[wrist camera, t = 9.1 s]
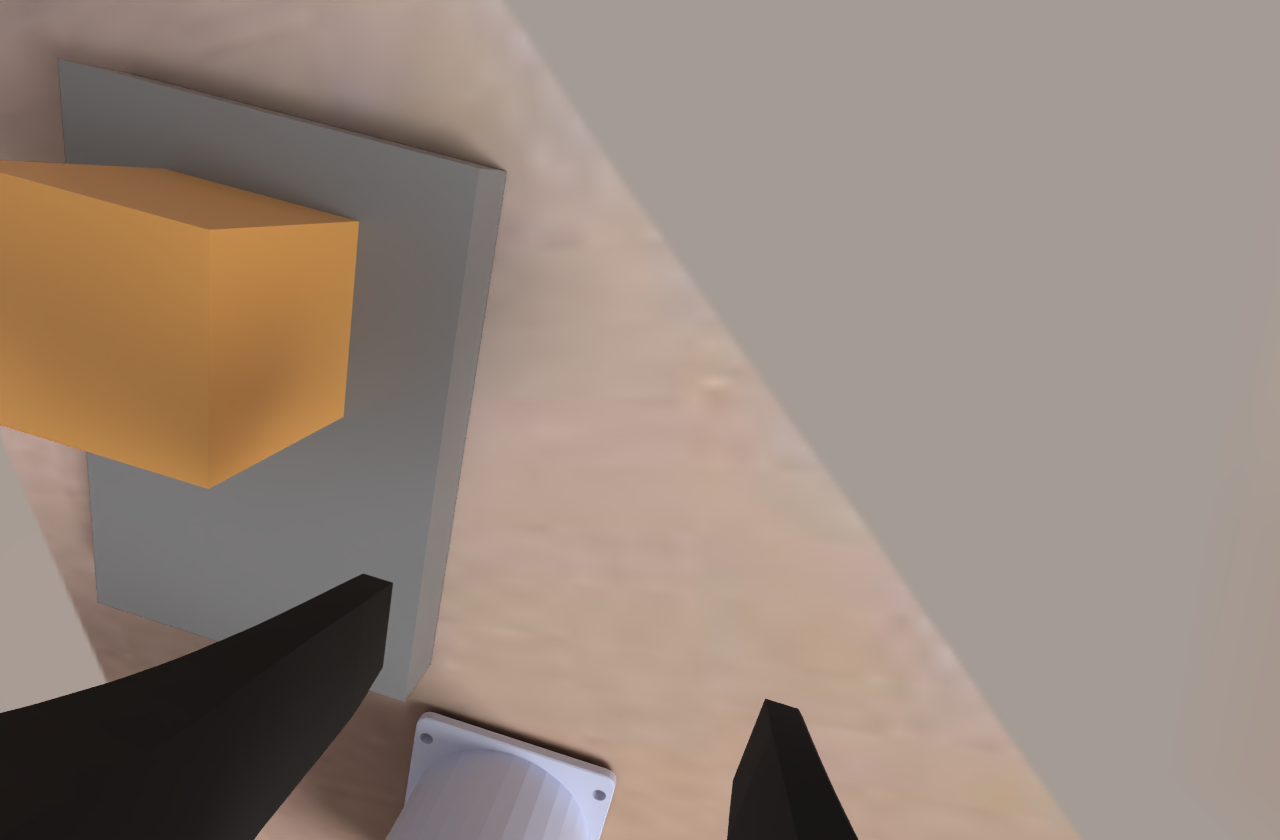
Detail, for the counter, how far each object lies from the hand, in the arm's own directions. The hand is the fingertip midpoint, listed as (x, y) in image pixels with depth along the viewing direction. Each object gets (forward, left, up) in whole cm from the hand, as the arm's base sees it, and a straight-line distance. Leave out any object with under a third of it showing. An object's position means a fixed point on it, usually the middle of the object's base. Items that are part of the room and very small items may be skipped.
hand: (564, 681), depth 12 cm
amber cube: (+3, +12, -7) cm, 14 cm away
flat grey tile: (-1, +12, -9) cm, 15 cm away
